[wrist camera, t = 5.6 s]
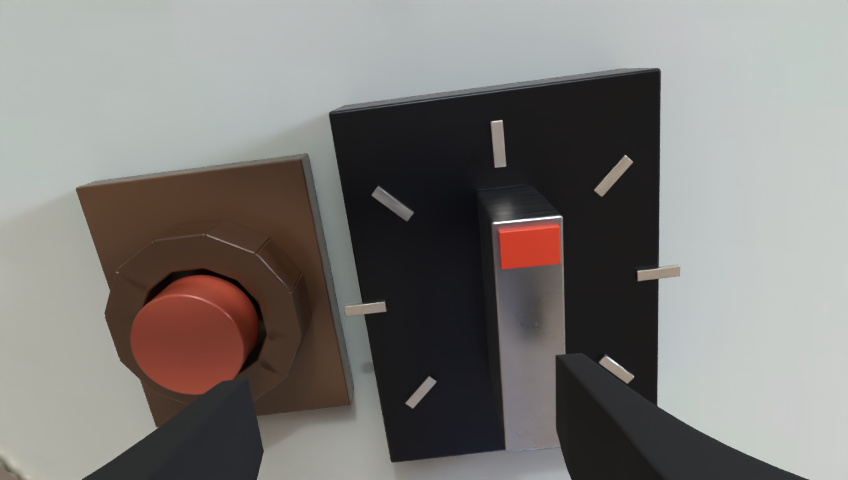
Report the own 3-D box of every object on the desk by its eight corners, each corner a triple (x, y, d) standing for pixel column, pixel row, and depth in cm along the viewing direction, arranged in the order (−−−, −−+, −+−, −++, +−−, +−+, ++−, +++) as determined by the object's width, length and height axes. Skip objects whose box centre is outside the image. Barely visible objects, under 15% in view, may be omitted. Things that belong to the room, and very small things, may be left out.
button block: (353, 388, 22) (344, 435, 19) (169, 409, 22) (132, 459, 20) (308, 153, 19) (288, 167, 16) (94, 180, 19) (38, 200, 16)
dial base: (641, 386, 22) (676, 434, 19) (380, 415, 23) (374, 468, 20) (641, 66, 18) (685, 64, 15) (324, 108, 19) (306, 114, 16)
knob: (540, 378, 19) (570, 453, 15) (490, 383, 19) (507, 459, 15) (533, 185, 16) (566, 217, 13) (476, 191, 16) (492, 224, 13)
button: (269, 361, 19) (255, 389, 17) (171, 372, 19) (147, 401, 17) (246, 267, 18) (228, 288, 16) (142, 280, 18) (113, 302, 16)
